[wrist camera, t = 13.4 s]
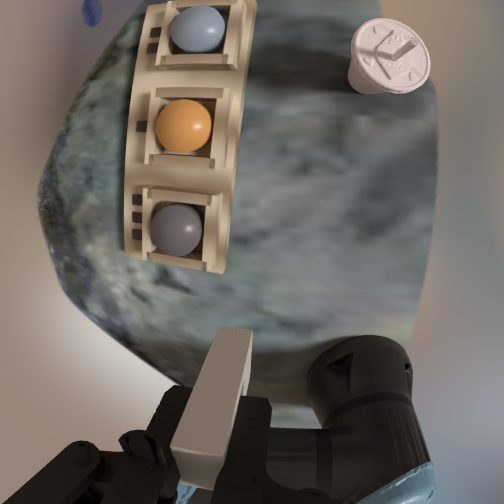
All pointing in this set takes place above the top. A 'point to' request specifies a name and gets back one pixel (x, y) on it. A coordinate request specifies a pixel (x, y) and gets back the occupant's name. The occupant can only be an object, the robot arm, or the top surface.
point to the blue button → (199, 30)
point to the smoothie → (387, 58)
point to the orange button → (185, 126)
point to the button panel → (191, 163)
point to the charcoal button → (177, 228)
